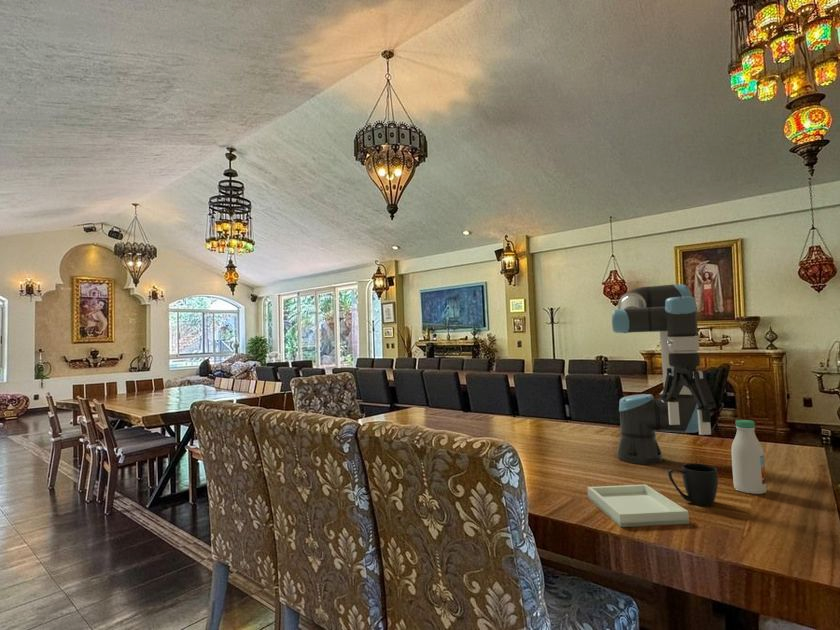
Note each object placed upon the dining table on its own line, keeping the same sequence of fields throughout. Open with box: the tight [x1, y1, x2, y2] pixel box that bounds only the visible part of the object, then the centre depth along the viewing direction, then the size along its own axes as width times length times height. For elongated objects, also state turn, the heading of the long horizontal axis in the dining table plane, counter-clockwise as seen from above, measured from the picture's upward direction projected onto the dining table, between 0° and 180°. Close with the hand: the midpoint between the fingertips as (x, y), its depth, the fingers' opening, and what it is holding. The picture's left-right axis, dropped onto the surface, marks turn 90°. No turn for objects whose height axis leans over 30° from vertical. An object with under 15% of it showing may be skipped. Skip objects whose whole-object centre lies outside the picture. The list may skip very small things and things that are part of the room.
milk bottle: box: [730, 419, 767, 495], centre depth 130 cm, size 8×8×20 cm
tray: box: [587, 484, 690, 528], centre depth 119 cm, size 17×20×3 cm
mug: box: [667, 462, 719, 507], centre depth 123 cm, size 8×12×10 cm
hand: (688, 429), depth 123 cm, fingers open, 13 cm apart
